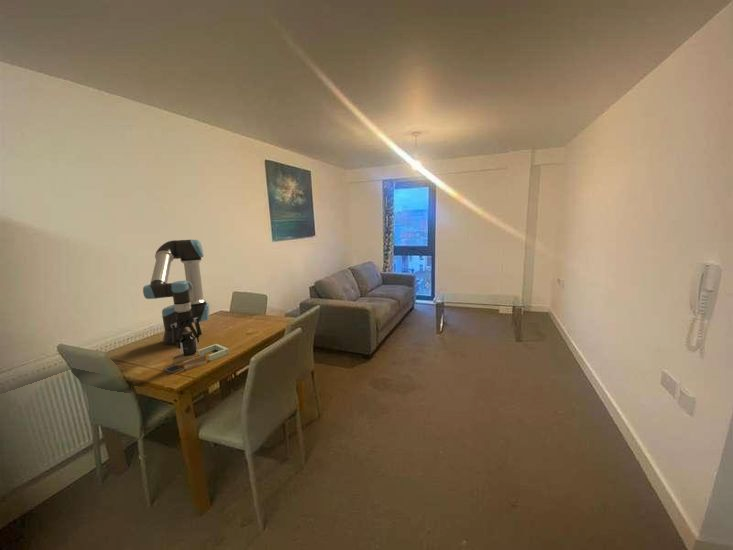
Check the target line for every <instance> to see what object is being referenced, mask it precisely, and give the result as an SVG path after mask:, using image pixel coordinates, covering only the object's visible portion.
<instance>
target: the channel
mask: <svg viewBox="0 0 733 550" xmlns="http://www.w3.org/2000/svg"><path fill="white" fill-rule="evenodd" d="M172 361H173V365H175V364H177V365H178V364H180V363H182V364H183V370H184V371H189V370H191V369H194V368H197V367H200V366H202V365H204V364H206V363H208V359H207V355H206V354H203V355H200V356H199V355H198V356H196V353H195V354H193V355H190V356H183V355H182V354H180V353H177V354H174V355H172Z"/></svg>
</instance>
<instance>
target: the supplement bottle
mask: <svg viewBox="0 0 733 550" xmlns="http://www.w3.org/2000/svg"><path fill="white" fill-rule="evenodd" d="M194 337H195V336H194V335H193V333H192V331H191V330H190V331H189V330H188V331H187V332H183V333H182V338H181V341H180V342H182V346H183V353H184V354H182V355H183V356H190V355H193V354H196V353H197V349H196V344H195V338H194Z"/></svg>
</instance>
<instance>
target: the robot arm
mask: <svg viewBox="0 0 733 550" xmlns="http://www.w3.org/2000/svg"><path fill="white" fill-rule="evenodd" d="M204 256H205V255H204V250H203V247H202V245H201V241H200V240H198V239H181V240H180V239H179V240H177V239H176V240H174V239H173V240H169V241H166V242H164V243H163V244H162V245H160V246H159V247H158V248H157V250H156V252H155V255H154V258H155V264H154V268H153V271H152V274H151V275H152V276H151V280H150V284H145V285H144V286H143V289H142V295H143V297H144V298H145V299H146V300H154V299H155V300H156V299H163V298H171V297H172V301H173V304H171V305H169V306H166V307H164V308H163V309H162V310H161V313H162V315H161V317H162V321H163V322H162V323H163V327H164V329H163V330H164V332H163V337H162V342H163V345H166V346H172V345H176V349H178V350H179V354H184V353H183V346H182V342H180V341H181V338H182V333H183V332H187V331H189V330H188V329H187V328H189V329H190V331H191V332H192V336H193V337H194V338H195V344H196V350H199V344H198V343H199V340H200V339H199V338H200V336H202V334H203V333H202V330H201V326H200V323H202V322H206V321H208V320H209V317H210V303H208V302H207V300H206V299H205V298H204V291H203V285H202V278H201V277H202V275H201V268H200V262H201V261H202V258H204ZM175 259H177V260H179V259H180V262H181V263H182V264H183V266H184V277H185V280H178V281H173V282H169V283H168V279H169V275H170V270H171V269H170V268H171V264H172V263H173V261H174V260H175ZM193 324H194V325H195V328H194V326H193Z"/></svg>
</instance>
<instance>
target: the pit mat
mask: <svg viewBox="0 0 733 550" xmlns="http://www.w3.org/2000/svg"><path fill="white" fill-rule="evenodd" d="M183 370H184V367H180V366H179V365H178V364H173V365H170V366H168V367H167V366H166V367H164V368H163V371H165V372H166V373H168V374H170V375H172V374H174V373H177V372H179V371H183Z"/></svg>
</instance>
